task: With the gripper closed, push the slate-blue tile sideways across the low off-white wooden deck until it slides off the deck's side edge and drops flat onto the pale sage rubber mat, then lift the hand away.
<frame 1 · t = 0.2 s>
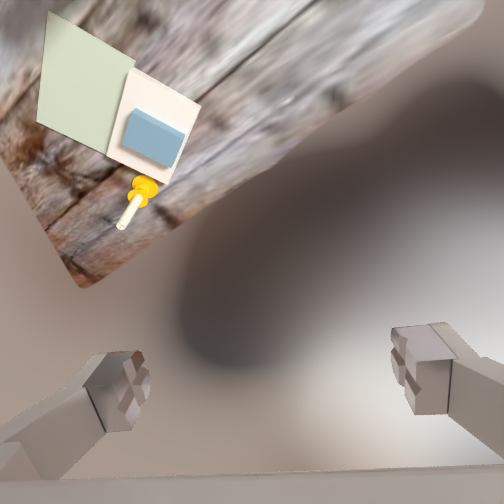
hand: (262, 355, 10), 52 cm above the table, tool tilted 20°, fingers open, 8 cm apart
deck: (154, 129, 56), on the table
mat: (83, 92, 52), on the table
tile: (156, 136, 54), point 2 cm above the table, touching deck
candle: (145, 185, 63), on the table
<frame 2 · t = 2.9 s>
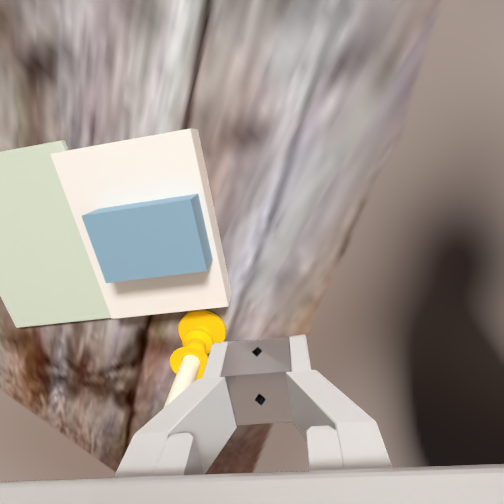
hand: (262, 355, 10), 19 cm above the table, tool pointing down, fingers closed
deck: (156, 228, 29), on the table
mat: (39, 244, 31), on the table
tile: (156, 234, 27), point 2 cm above the table, touching deck
candle: (203, 328, 33), on the table
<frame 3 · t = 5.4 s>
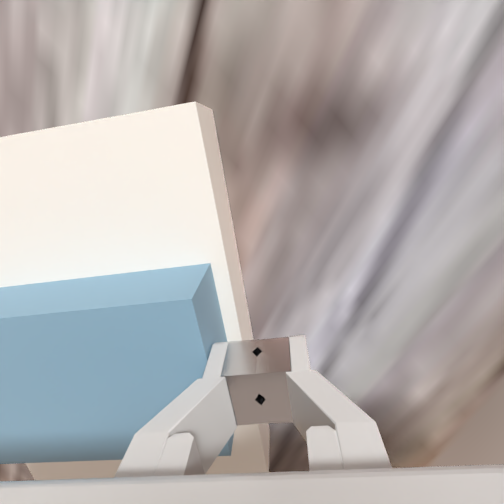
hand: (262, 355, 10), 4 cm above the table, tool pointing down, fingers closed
deck: (123, 313, 14), on the table
tile: (115, 345, 12), point 2 cm above the table, touching deck, gripper
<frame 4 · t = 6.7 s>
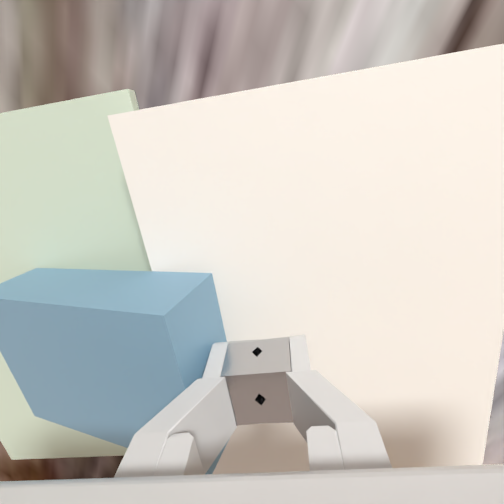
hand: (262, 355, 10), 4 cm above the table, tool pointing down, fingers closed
deck: (318, 292, 13), on the table
mat: (61, 317, 15), on the table
tile: (132, 335, 13), point 2 cm above the table, tilted 18°
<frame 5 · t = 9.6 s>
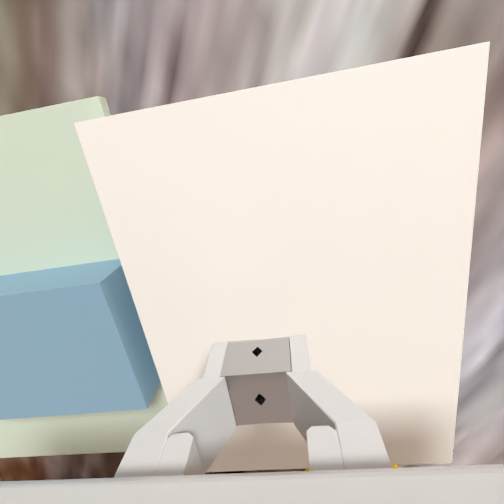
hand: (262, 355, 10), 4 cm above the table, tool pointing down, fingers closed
deck: (291, 290, 14), on the table
mat: (44, 318, 15), on the table
tile: (63, 326, 15), resting on mat
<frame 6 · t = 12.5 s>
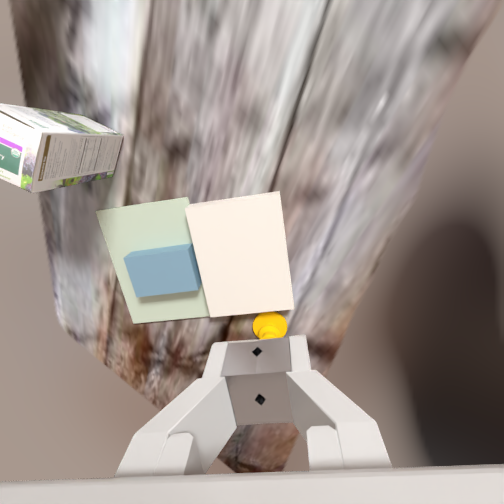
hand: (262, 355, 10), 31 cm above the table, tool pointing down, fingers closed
syrup box: (99, 145, 39), on the table
deck: (244, 254, 42), on the table
mat: (159, 264, 44), on the table
tile: (167, 266, 43), resting on mat
candle: (269, 324, 46), on the table
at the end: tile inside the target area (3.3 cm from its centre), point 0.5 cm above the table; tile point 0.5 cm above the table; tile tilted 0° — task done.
